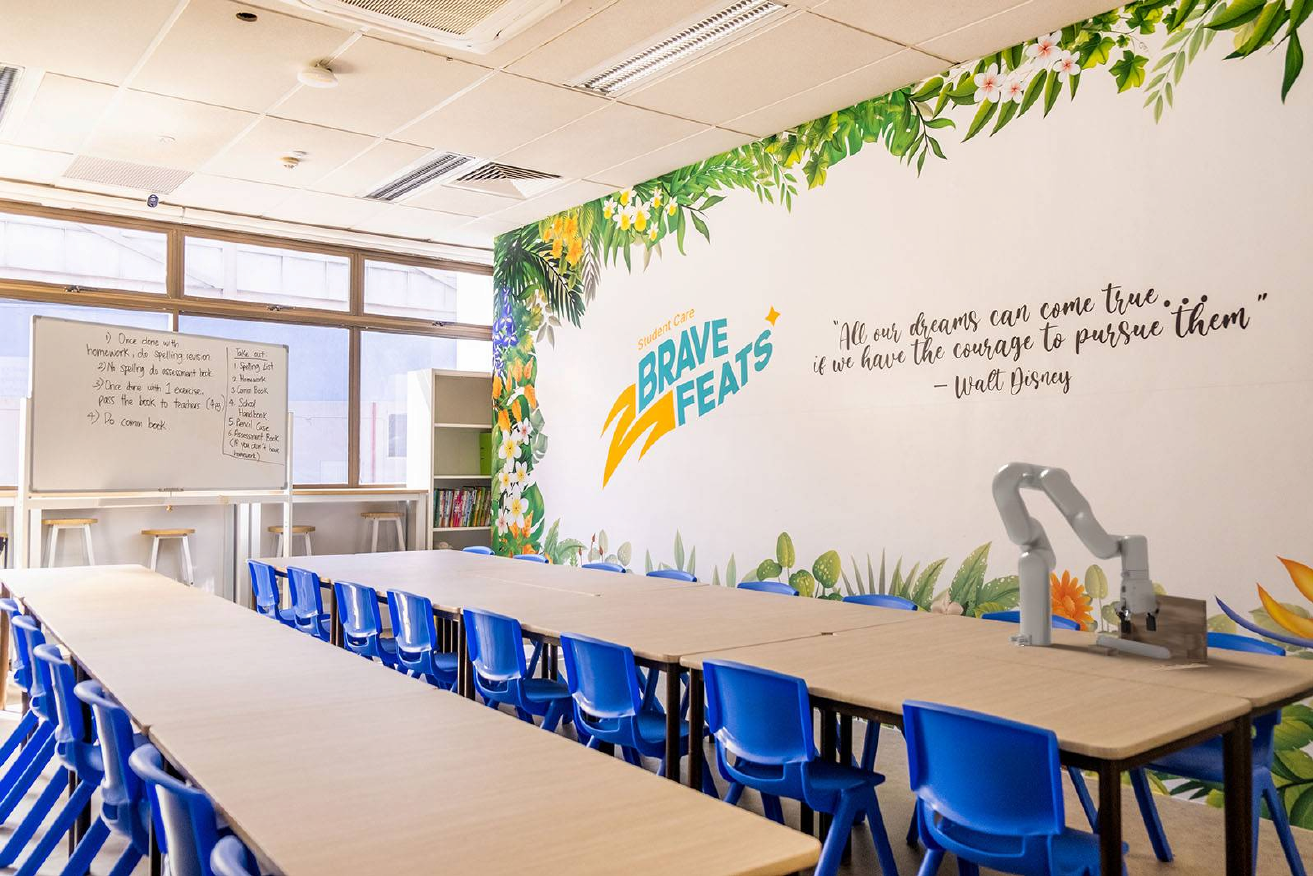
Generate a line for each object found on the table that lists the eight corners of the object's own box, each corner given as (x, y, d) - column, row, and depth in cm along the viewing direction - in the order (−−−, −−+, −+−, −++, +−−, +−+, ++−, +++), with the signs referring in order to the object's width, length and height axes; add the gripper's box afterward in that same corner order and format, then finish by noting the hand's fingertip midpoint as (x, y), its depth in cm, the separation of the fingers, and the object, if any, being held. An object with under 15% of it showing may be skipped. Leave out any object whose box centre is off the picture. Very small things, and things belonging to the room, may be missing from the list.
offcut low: (1111, 663, 297) (1111, 657, 297) (1086, 658, 307) (1086, 651, 307) (1125, 663, 299) (1124, 656, 299) (1099, 657, 308) (1099, 650, 308)
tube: (1176, 649, 296) (1109, 636, 320) (1164, 645, 295) (1097, 632, 318) (1172, 667, 296) (1105, 653, 319) (1159, 663, 294) (1093, 648, 317)
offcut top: (1107, 656, 299) (1107, 649, 299) (1088, 651, 307) (1088, 645, 307) (1118, 655, 300) (1118, 648, 300) (1099, 651, 308) (1099, 644, 308)
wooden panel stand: (1190, 663, 296) (1189, 601, 296) (1118, 647, 322) (1117, 591, 323) (1207, 661, 298) (1206, 600, 299) (1134, 646, 324) (1133, 590, 325)
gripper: (1122, 577, 301) (1125, 635, 300) (1167, 574, 307) (1170, 631, 306) (1103, 576, 308) (1107, 632, 307) (1148, 573, 314) (1151, 628, 313)
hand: (1138, 632), depth 307 cm, fingers open, 9 cm apart
